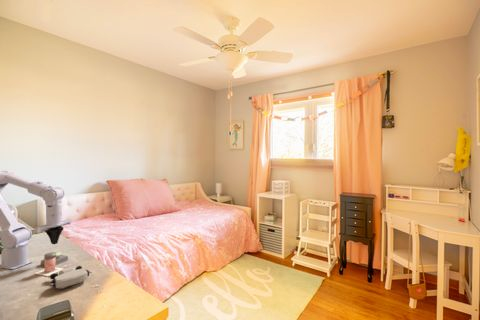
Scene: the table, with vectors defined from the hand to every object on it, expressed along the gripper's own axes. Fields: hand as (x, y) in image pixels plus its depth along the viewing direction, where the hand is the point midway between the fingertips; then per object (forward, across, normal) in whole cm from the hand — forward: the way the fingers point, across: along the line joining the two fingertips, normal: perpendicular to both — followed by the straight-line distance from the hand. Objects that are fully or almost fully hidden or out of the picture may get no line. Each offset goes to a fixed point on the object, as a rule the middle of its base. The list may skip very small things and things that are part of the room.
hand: (54, 243), depth 106 cm
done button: (+8, 0, 0) cm, 8 cm away
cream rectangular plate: (+9, -7, -8) cm, 14 cm away
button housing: (+9, 0, 0) cm, 9 cm away
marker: (+8, -7, -8) cm, 13 cm away
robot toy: (+9, -11, -24) cm, 28 cm away
